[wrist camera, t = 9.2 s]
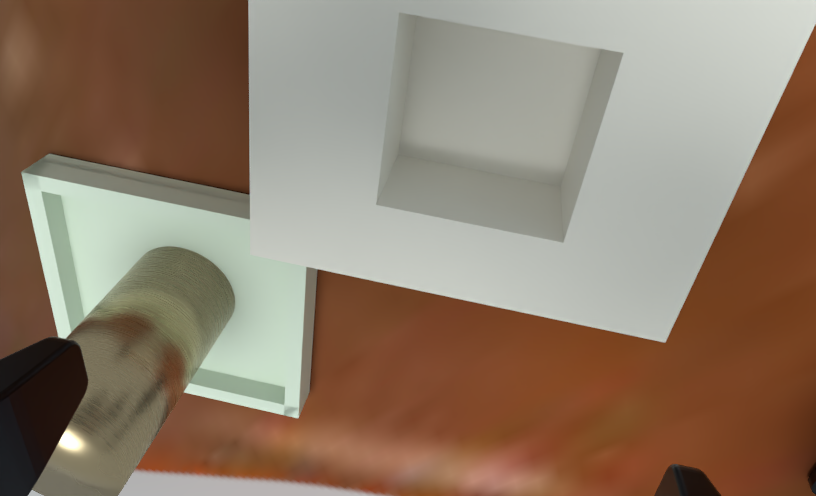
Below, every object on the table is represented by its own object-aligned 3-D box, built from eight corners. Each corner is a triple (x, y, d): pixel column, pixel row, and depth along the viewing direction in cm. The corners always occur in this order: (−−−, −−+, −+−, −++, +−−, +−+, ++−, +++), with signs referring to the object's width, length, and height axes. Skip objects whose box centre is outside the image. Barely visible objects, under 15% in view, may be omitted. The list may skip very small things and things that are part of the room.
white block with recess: (783, -71, 16) (847, -43, 13) (646, 262, 21) (665, 342, 18) (306, -149, 17) (247, -143, 13) (293, 190, 22) (250, 254, 19)
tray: (321, 209, 22) (308, 232, 21) (309, 391, 27) (298, 418, 26) (49, 153, 23) (21, 172, 22) (85, 341, 28) (64, 364, 27)
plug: (234, 259, 24) (113, 428, 17) (236, 340, 26) (130, 519, 19) (129, 236, 24) (-30, 394, 17) (140, 319, 26) (3, 487, 19)
